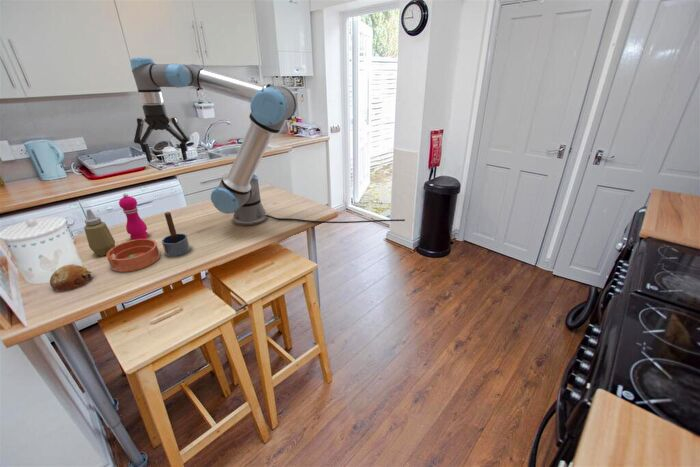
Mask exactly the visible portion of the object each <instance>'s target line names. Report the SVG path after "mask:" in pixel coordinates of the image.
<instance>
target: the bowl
mask: <svg viewBox="0 0 700 467" xmlns="http://www.w3.org/2000/svg"><path fill="white" fill-rule="evenodd" d="M147 251H148V252H147ZM145 252H146V253H145ZM131 254H134V255H136V257H132V258H128V256H129V255H131ZM105 256H106V259H107V262H108V264H109V266H110V268H111V270H112V271H115V272H119V273H128V272H129V273H131V272H134V271H139V270H142V269H145V268H147V267H149V266H152V265H153V264H154V263H157V261H158V260H159V259H160V258H161V251H160V249H159V245H158V243H157V241H156V240H155V239H152V238H145V239H136V240H131V239H129V240H128V241H127V240H126V241H124V242H121V243H119V244H115V247H113V248H111V249H110V250H109V251H108V252H107V254H106V255H105Z"/></svg>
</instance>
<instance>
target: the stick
mask: <svg viewBox="0 0 700 467" xmlns="http://www.w3.org/2000/svg"><path fill="white" fill-rule="evenodd" d="M164 217H165V220H166V224H167V227H168V231H169V235H171V238H172V241H173V243H177V242H179V241H178V238H177V234H178V233H177V231H176V230H177V229H176V227H175V224H174V221H173V217H172V213H171V211H166V212H164Z"/></svg>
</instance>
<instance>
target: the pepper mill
mask: <svg viewBox="0 0 700 467" xmlns="http://www.w3.org/2000/svg"><path fill="white" fill-rule="evenodd" d="M118 205H119V207H120V208H121V209H122V211H123V214H125V216H126V226H125V230H126V233H127V234H128V235H130V240H136V239H148V237H149V233H148V232H147V230H148V226H147V224H146V223H145V221H144V220H142V218H141V217H140V215H139V212H138V211H139V209H138V207H137V206H138V201H137V199H136V198H135V197H133V196H129V194H128V193H123V194H122V197H121V198H119V201H118Z"/></svg>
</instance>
